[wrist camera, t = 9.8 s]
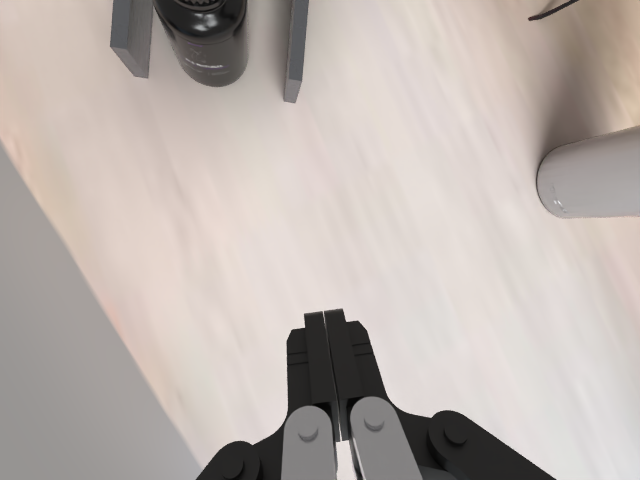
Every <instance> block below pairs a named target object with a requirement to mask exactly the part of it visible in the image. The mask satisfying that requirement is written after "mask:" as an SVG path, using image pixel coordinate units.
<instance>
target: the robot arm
mask: <svg viewBox="0 0 640 480" xmlns="http://www.w3.org/2000/svg"><path fill="white" fill-rule="evenodd" d="M537 187H538V192H539V196H540V198H541V201H542V203H543V204H544V206H545V207H546V209H547V210H549V211H550V212H551V213H552V214H554V215H555V216H557V217H561V218H606V217H640V125H638V126H635V127H631V128H627V129H623V130H620V131H616V132H612V133H608V134H605V135H601V136H597V137H593V138H589V139H585V140H582V141H578V142H574V143H571V144H567V145H563V146H560V147H557V148H555V149H554V150H552V151H551V152H550V153H548V155H547V156H546V157H545V158H544V160H543V162H542V163H541V165H540V169H539V172H538V178H537ZM324 318H325V323H324ZM304 319H305V328H300V329H293V330H291V333H290V335H289V337H288V339H287V382H288V412H287V416H286V419H285V421H284V423H283V424H282V426H281V427H280V428H279V429H278V430H277V431H276V432H275V433H274V434H272V435H271V436H269V437H267V438H265V439H263V440H262V441H260V442H258V443H256V444H254V445H251V444H250V443H248V442H245V441H235V442H232V443H229V444H227V445H226V446H224V447H223V448H222V449H220V450H219V451H218V452H217V453H216V455H215V456H214V457H213V458H212V460H211V461H210V462H209V463H208V465H207V466H206V467H205V469H204V470H203V471H202V472H201V474H200V475H199V476H198V477H197V479H196V480H337V474H336V473H337V468H338V462H337V451H336V442H340V432H339V424H340V430H341V436H342V441H345V440H349V444H350V449H351V455H352V467H353V471H354V476H355V480H556V479H555V478H553V477H552V476H550V475H549V474H548V473H546V472H545V471H543V470H542V469H540V468H539V467H538V466H536V465H535V464H533V463H532V462H530V461H529V460H527V459H526V458H525V457H523V456H522V455H520V454H519V453H517V452H516V451H515V450H513V449H512V448H510V447H509V446H507V445H506V444H505V443H503V442H502V441H500V440H499V439H497V438H496V437H494V436H493V435H492V434H490V433H489V432H487V431H486V430H484V429H483V428H482V427H480V426H479V425H477V424H476V423H474V422H473V421H472V420H470V419H469V418H467V417H466V416H464V415H462V414H460V413H458V412H455V411H450V410H444V411H440V412H438V413H436V414H435V415H434V416H433V417H432V418H428V417H423V416H418V415H413V414H409V413H406V412H404V411H402V410H400V409H399V408H397V407H396V406H395V405H394V404H393V403H392V402H391V401H390V399H389V398H388V396H387V394H386V391H385V388H384V385H383V381H382V378H381V375H380V372H379V368H378V365H377V362H376V359H375V355H374V352H373V349H372V346H371V343H370V339H369V336H368V333H367V330H366V329H365V328H364V327H363V325H362V324H361V323H360V322H359V321H351V322H346V320H345V316H344V312H343V309H335V310H328V311H324V317H323V311H321V312H313V313H306V314H304ZM338 417H339V419H338Z"/></svg>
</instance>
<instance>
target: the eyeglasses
mask: <svg viewBox="0 0 640 480" xmlns="http://www.w3.org/2000/svg"><path fill="white" fill-rule="evenodd" d="M577 1H579V0H571V1H569V2H566V3H564V4H562V5H561V6H559V7H557V8H555V9H552V10H550V11H548V12H546V13H544V14H541V15H538V16H534V17H530V18H528V20H529V21H531V20H537V19H542V18H544V17H547V16H549V15H551V14H553V13H555V12H557V11H559V10H561V9H563V8H565V7H567V6H569V5H571V4H573V3H575V2H577Z"/></svg>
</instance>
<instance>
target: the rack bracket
mask: <svg viewBox="0 0 640 480" xmlns="http://www.w3.org/2000/svg"><path fill="white" fill-rule="evenodd" d="M308 3H309V0H292V9H291V21H290V33H289V45H288V57H287V69H286V81H285V93H284V101H285V102H291V103H295V102H296V99H297V96H298V93H299V89H300V86H301V83H302V74H303V63H304V51H305V39H306V27H307V15H308ZM152 17H153V1H152V0H113V13H112V27H111V41H110V47H111V48H112V49H113V51H114V52H115V53H116V54H117V56H118V57H119V58H120V59H121V61H122V62H123V63H124V64H125V65H126V67H127V68H128V69H129V70H130V72H131V73H132V74H133V75H134V76H136V77H142V78H148V71H149V57H150V44H151V30H152Z"/></svg>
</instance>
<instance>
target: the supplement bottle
mask: <svg viewBox="0 0 640 480" xmlns="http://www.w3.org/2000/svg"><path fill="white" fill-rule="evenodd" d="M152 1H153V4H154V7H155V9H156V12H157V14H158V16H159V18H160V21H161V23H162V25H163V27H164V30H165V32H166V34H167V37H168V39H169V41H170V43H171V46H172V48H173V50H174V52H175V55H176V57H177V59H178V61H179V63H180V65H181V66H182V68H183V69H184V71H185V72H186V73H187V74H188V75H189V76H190V77H191V78H193V79H194V80H195V81H197V82H199V83H201V84H203V85H206V86H211V87H222V86H227V85H229V84H232V83H233V82H235V81H236V80H238V79H239V78H240V76H241V75H242V74H243V72H244V71H245V69H246V66H247V62H248V9H247V0H152Z"/></svg>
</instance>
